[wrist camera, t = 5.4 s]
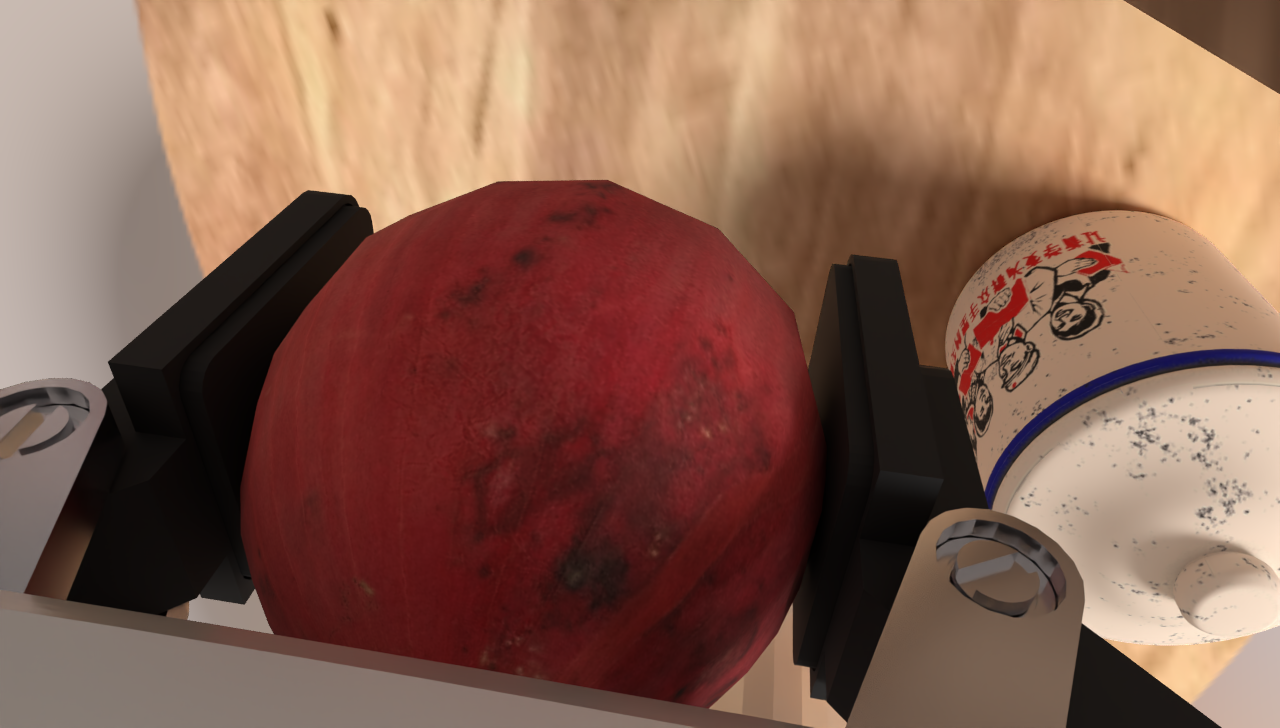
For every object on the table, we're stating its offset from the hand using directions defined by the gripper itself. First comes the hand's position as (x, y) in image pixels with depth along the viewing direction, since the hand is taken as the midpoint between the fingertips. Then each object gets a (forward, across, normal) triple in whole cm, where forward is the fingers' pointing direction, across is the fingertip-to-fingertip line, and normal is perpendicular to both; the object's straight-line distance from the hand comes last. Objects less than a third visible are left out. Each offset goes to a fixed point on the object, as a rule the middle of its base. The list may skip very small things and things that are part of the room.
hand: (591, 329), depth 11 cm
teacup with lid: (+16, -13, +10) cm, 23 cm away
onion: (+1, 0, 0) cm, 1 cm away
